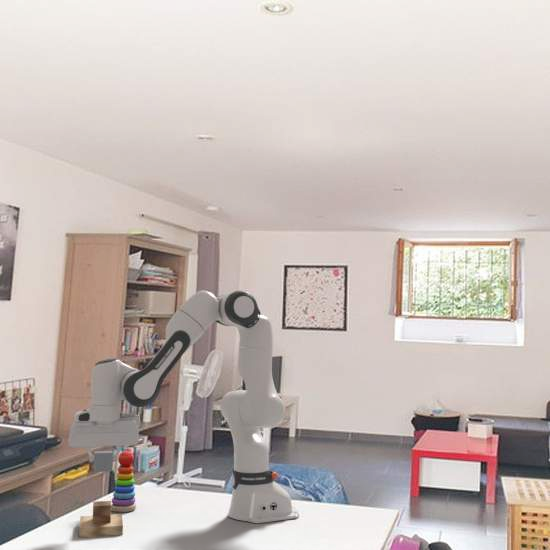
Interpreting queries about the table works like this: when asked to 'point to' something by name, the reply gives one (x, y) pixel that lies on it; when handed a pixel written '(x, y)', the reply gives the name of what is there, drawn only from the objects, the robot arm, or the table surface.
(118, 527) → the base board
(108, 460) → the slate block
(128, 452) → the stacking toy
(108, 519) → the walnut block
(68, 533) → the table surface
